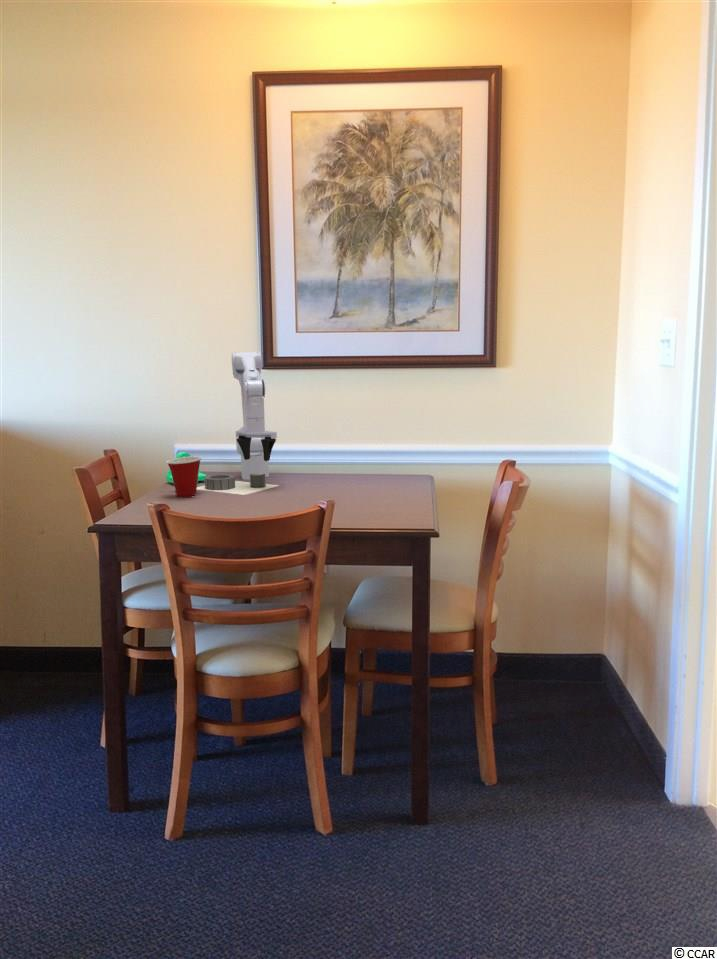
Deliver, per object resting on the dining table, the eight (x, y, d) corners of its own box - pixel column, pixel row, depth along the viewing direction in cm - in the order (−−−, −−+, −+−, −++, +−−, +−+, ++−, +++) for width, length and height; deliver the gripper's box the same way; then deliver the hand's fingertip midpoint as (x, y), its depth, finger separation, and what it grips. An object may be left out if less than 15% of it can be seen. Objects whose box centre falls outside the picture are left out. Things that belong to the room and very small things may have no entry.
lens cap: (256, 484, 287) (256, 472, 286) (268, 486, 284) (268, 473, 284) (247, 487, 283) (246, 474, 282) (259, 488, 280) (258, 475, 279)
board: (227, 482, 297) (227, 469, 296) (279, 487, 285) (279, 474, 284) (191, 491, 282) (190, 478, 281) (244, 497, 270) (244, 483, 269)
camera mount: (174, 486, 291) (173, 456, 289) (166, 483, 297) (164, 453, 295) (208, 482, 297) (206, 453, 296) (199, 479, 304) (197, 450, 302)
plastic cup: (170, 493, 279) (168, 456, 276) (204, 492, 280) (202, 455, 277) (165, 500, 268) (163, 461, 266) (201, 498, 269) (199, 460, 267)
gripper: (229, 418, 278) (231, 460, 280) (267, 419, 271) (268, 462, 273) (242, 416, 284) (243, 457, 286) (279, 417, 277) (281, 459, 280)
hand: (256, 460), depth 280 cm, fingers open, 7 cm apart
